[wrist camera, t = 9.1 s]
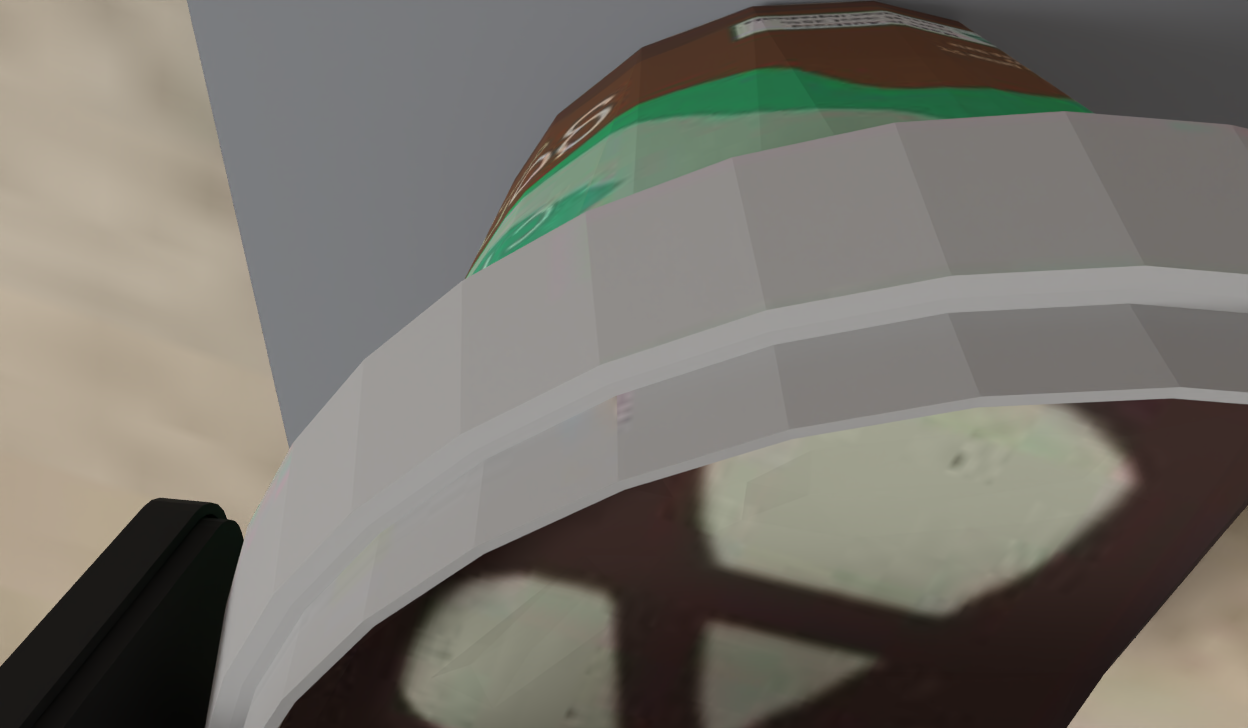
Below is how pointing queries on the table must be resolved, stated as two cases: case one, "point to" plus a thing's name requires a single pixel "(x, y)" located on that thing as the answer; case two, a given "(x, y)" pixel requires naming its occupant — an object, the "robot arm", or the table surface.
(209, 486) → the table surface
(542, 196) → the food container
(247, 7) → the gray mat
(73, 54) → the table surface
